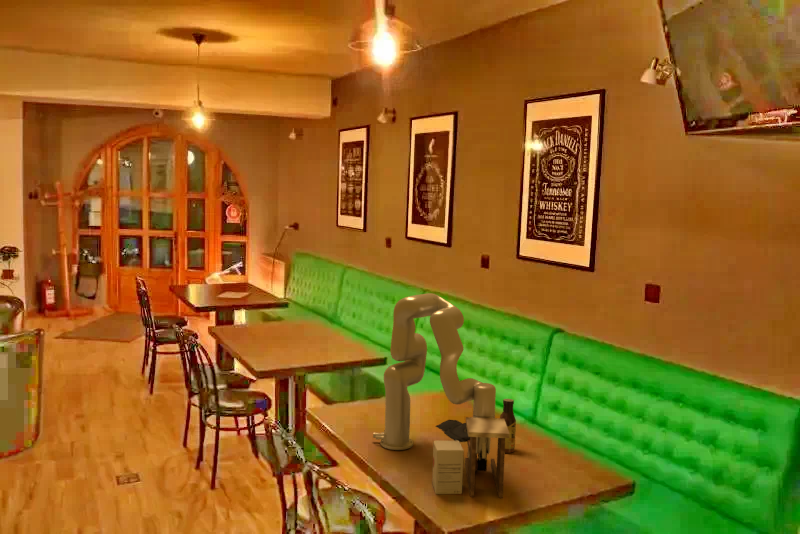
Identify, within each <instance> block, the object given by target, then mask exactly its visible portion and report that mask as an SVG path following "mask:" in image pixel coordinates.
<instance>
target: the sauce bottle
mask: <svg viewBox="0 0 800 534" xmlns="http://www.w3.org/2000/svg"><path fill="white" fill-rule="evenodd" d="M514 403H515V400H514V399H512V398H503V399H502V404H503V406H502V407H503V408H502V413H501V414H500V416H499V418H500V419H504V420H505V422H506V425H507V428H508V431H509V433H510V437H509V438H505V454H510V453H512V454H513V453H514V452H515V448H516V432H517V431H516V428H517V420H516V416H515V413H514V405H515V404H514Z"/></svg>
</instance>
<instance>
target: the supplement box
mask: <svg viewBox="0 0 800 534" xmlns="http://www.w3.org/2000/svg"><path fill="white" fill-rule="evenodd" d="M464 452H465V451H464V448H463V446H462V444H461V442H459V441H455V440H433V450H432V475H431V476H432V480H431V481H432V482H431V483H432V486H433V490H434V493H435V495H455V494H456V495H458V494H459V495H462V494H463V477H464V476H463V474H464V472H463V471H464Z"/></svg>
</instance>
